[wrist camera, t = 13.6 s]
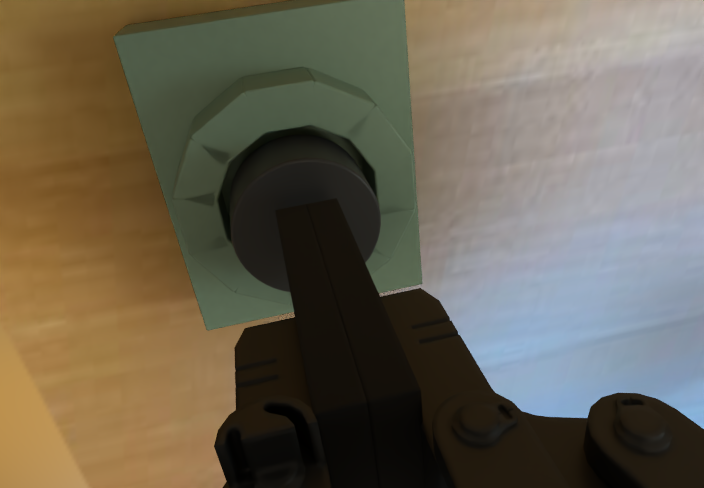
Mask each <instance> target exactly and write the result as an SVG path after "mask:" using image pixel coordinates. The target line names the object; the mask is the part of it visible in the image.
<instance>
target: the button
mask: <svg viewBox="0 0 704 488" xmlns="http://www.w3.org/2000/svg"><path fill="white" fill-rule="evenodd" d="M335 198H337V200H338V202H339V204H340V206H341V209H342V211H343V213H344V216H345V218H346V220H347V222H348V225H349V227H350V229H351V232H352V234H353V236H354V238H355V241H356V243H357V245H358V248H359V250H360V252H361V254H362V257H363V259H364V261H365V263H366V262H367V260H368V259H369V258H370V256H371V254H372V252H373V251H374V249H375V246H376V244H377V241H378V238H379V234H380V227H381V214H380V208H379V204H378V201H377V198H376V196H375V194H374V192H373V190H372V188H371V187H370V185H369V183H368V182H367V180H366V178H365V177H364V175H363V173H362V172H361V170H360V168H359V166H358V165H357V163H356V162H355V161H354V159H353V158H352V157H351V156H350V155H349V154H348V152H346V151H345V150H344V149H343V148H341V147H340V146H339V145H337V144H335V143H334V142H332V141H329V140H327V139H325V138H321V137H318V136H313V135H299V134H297V135H288V136H284V137H280V138H276V139H274V140H271V141H269V142H267V143H265V144H263V145H262V146H260V147H259V148H257V149H256V150H255V151H253V152H252V153H251V154H250V155H249V156H248V157H247V158H246V159H245V160H244V162H243V163H242V164H241V166H240V167H239V169H238V171H237V172H236V175H235V177H234V179H233V182H232V186H231V192H230V227H231V240H232V245H233V248H234V250H235V253H236V255H237V257H238V259H239V261H240V262H241V264H242V265H243V266H244V268H245V269H246V270H247V271H248V272H249V273H250V274H251V275H252V276H254V277H255V278H256V279H257V280H259V281H261V282H262V283H264V284H266V285H268V286H270V287H272V288H275V289H278V290H281V291H286V292H290V287H289V282H288V277H287V271H286V266H285V261H284V255H283V250H282V245H281V239H280V234H279V229H278V223H277V218H276V212H275V210H278V209H283V208H288V207H294V206H299V205H304V204H309V203H314V202H319V201H324V200H329V199H335Z"/></svg>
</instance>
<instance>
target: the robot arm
mask: <svg viewBox="0 0 704 488" xmlns="http://www.w3.org/2000/svg"><path fill="white" fill-rule="evenodd" d="M275 212H276V218H277V223H278V229H279V234H280V239H281V245H282V250H283V255H284V261H285V266H286V271H287V277H288V282H289V287H290V293H291V298H292V303H293V309H294V314H295V317H294V318H290V319H285V320H280V321H276V322H271V323H267V324H262V325H257V326H253V327H248V328H245V329H244V331H243V333H242V335H241V337H240V339H239V340H238V342H237V344H236V346H235V369H236V372H235V383H236V411H234V412H233V413H231V414H230V415H229V416H228V417H227V419H226V420H225V422H224V423H223V424H222V426H221V427H220V428H219V430H218V433H217V437H216V441H215V445H214V447H215V450H216V453H217V456H218V458H219V461H220V464H221V467H222V470H223V472H224V475H225V478H226V481H227V482H226V484H225V485H224V486H223V488H704V429H702V428H701V427H700V426H698V425H697V424H696V423H694V422H693V421H691V420H690V419H689V418H687V417H686V416H685V415H683V414H682V413H680V412H679V411H678V410H676V409H675V408H673V407H671V406H669V405H667V404H666V403H664V402H662V401H660V400H658V399H656V398H652V397H648V396H645V395H641V394H638V393H616V394H612V395H609V396H606V397H602V398H601V399H600V400H598V401H597V402H596V403H595V404H594V405H593V406H591V408H590V412H589V415H588V418H561V417H544V416H536V415H532V414H529V413H526V412H522V411H521V410H520V409H519V408H518V407H517V406H516V405H515V404H514V403H513V402H512V401H510V400H508V399H506V398H504V397H502V396H500V395H499V394H497V393H495V392H494V391H493V389H492V388H491V387H490V385H489V383H488V382H487V380H486V378H485V377H484V375H483V373H482V372H481V370H480V368H479V366H478V365H477V363H476V361H475V360H474V358H473V356H472V355H471V353H470V351H469V350H468V348H467V346H466V345H465V343H464V341H463V340H462V338H461V336H460V335H458V331H457V330H456V328H455V326H454V325H453V323H452V321H450V319H449V316H448V315H447V313H446V311H445V310H444V308H443V306H442V305H441V303H440V301H439V300H437V299H436V298H434V297H433V296H431V295H430V294H428V293H427V292H425V291H424V290H422V289H421V288H419V289H414V290H410V291H405V292H401V293H396V294H391V295H387V296H382V297H380V295H379V293H378V291H377V289H376V286H375V284H374V282H373V280H372V277H371V275H370V273H369V270H368V268H367V266H366V264H365V261H364V259H363V257H362V254H361V252H360V250H359V248H358V245H357V243H356V241H355V238H354V236H353V234H352V232H351V229H350V227H349V225H348V222H347V220H346V218H345V216H344V213H343V211H342V209H341V206H340V204H339V202H338V200H337V198H335V199H329V200H324V201H319V202H314V203H309V204H304V205H299V206H294V207H288V208H283V209H278V210H275Z"/></svg>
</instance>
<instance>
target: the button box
mask: <svg viewBox="0 0 704 488" xmlns="http://www.w3.org/2000/svg"><path fill="white" fill-rule="evenodd" d="M113 39H114V42H115V45H116V48H117V52H118V55H119V58H120V61H121V64H122V67H123V70H124V73H125V77H126V80H127V83H128V86H129V89H130V92H131V95H132V98H133V102H134V105H135V108H136V111H137V114H138V117H139V120H140V123H141V127H142V130H143V133H144V136H145V139H146V142H147V145H148V148H149V151H150V155H151V158H152V161H153V164H154V167H155V170H156V173H157V176H158V180H159V183H160V186H161V189H162V192H163V195H164V198H165V201H166V205H167V208H168V211H169V214H170V217H171V220H172V223H173V226H174V230H175V233H176V236H177V239H178V242H179V245H180V248H181V251H182V255H183V258H184V261H185V264H186V267H187V270H188V273H189V276H190V280H191V283H192V286H193V289H194V292H195V295H196V298H197V301H198V305H199V308H200V311H201V314H202V317H203V320H204V323H205V326H206V329H207V330H212V329H217V328H222V327H226V326H231V325H235V324H240V323H245V322H249V321H254V320H258V319H263V318H268V317H272V316H277V315H281V314H286V313H291V312H294V309H293V303H292V298H291V293H290V292H286V291H281V290H278V289H275V288H272V287H270V286H268V285H266V284H264V283H262V282H261V281H259V280H257V279H256V278H255V277H254V276H252V275H251V274H250V273H249V272H248V271H247V270H246V269H245V268H244V266H243V265H242V264H241V262H240V261H239V259H238V257H237V255H236V253H235V250H234V248H233V245H232V240H231V227H230V192H231V186H232V182H233V179H234V177H235V175H236V172H237V171H238V169H239V167H240V166H241V164H242V163H243V162H244V160H245V159H246V158H247V157H248V156H249V155H250V154H251V153H252V152H253V151H255V150H256V149H257V148H259V147H260V146H262V145H263V144H265V143H267V142H269V141H271V140H274V139H276V138H280V137H284V136H288V135H297V134H299V135H313V136H318V137H321V138H325V139H327V140H329V141H332V142H334V143H335V144H337V145H339V146H340V147H341V148H343V149H344V150H345V151H346V152H348V154H349V155H350V156H351V157H352V158H353V159H354V161H355V162H356V163H357V165H358V166H359V168H360V170H361V172H362V173H363V175H364V177H365V178H366V180H367V182H368V183H369V185H370V187H371V188H372V190H373V192H374V194H375V196H376V198H377V201H378V204H379V208H380V214H381V227H380V234H379V238H378V241H377V244H376V246H375V249H374V251H373V252H372V254H371V256H370V258H369V259H368V260H367V262H366V263H365V264H366V266H367V268H368V270H369V273H370V275H371V277H372V280H373V282H374V284H375V286H376V289H377V291H378V293H382V292H387V291H392V290H396V289H401V288H405V287H410V286H415V285H419V284H422V272H421V256H420V240H419V225H418V209H417V193H416V178H415V162H414V146H413V131H412V115H411V99H410V83H409V68H408V52H407V36H406V21H405V5H404V0H291V1H284V2H277V3H271V4H264V5H257V6H251V7H244V8H237V9H231V10H224V11H218V12H211V13H204V14H198V15H191V16H184V17H178V18H171V19H164V20H158V21H151V22H145V23H138V24H131V25H126V26H125V27H124V28H123V29H121V30H120V31H119V32H118V33H117V34H116V35H114V36H113Z"/></svg>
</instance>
